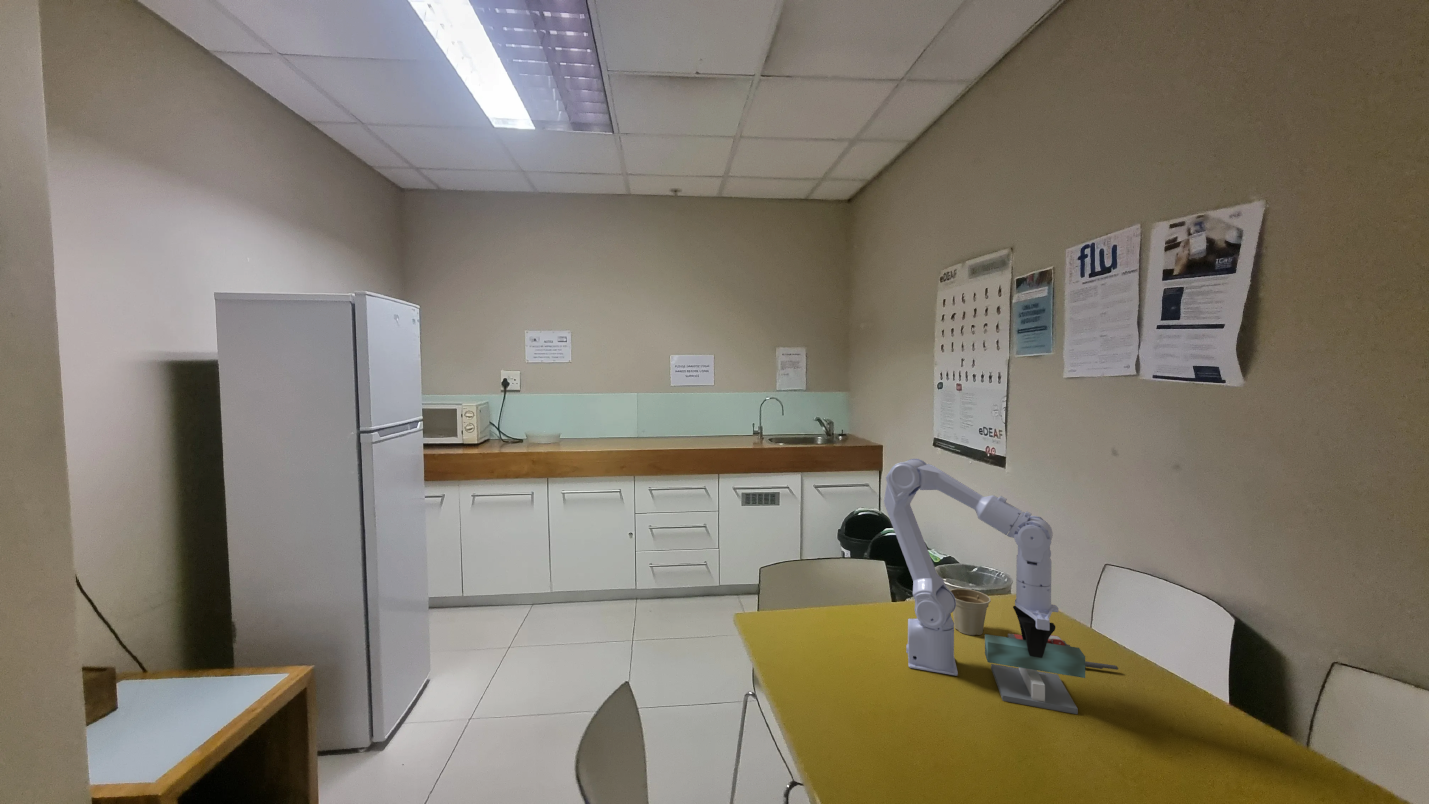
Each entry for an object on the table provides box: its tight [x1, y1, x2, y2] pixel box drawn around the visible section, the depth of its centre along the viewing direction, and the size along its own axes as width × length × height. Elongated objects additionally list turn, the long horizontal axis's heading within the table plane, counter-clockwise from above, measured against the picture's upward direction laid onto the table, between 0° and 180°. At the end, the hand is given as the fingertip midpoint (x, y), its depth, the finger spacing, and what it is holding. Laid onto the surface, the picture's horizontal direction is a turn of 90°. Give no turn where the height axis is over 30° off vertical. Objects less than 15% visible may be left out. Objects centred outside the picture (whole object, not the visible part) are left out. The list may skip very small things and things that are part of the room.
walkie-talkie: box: [1007, 633, 1119, 670], centre depth 110 cm, size 9×4×20 cm
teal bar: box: [984, 633, 1086, 679], centre depth 97 cm, size 16×4×4 cm, turn 69°
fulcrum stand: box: [990, 663, 1079, 715], centre depth 98 cm, size 12×12×4 cm
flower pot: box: [949, 588, 992, 636], centre depth 123 cm, size 9×9×9 cm
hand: (1032, 651), depth 97 cm, fingers closed on teal bar, 3 cm apart
